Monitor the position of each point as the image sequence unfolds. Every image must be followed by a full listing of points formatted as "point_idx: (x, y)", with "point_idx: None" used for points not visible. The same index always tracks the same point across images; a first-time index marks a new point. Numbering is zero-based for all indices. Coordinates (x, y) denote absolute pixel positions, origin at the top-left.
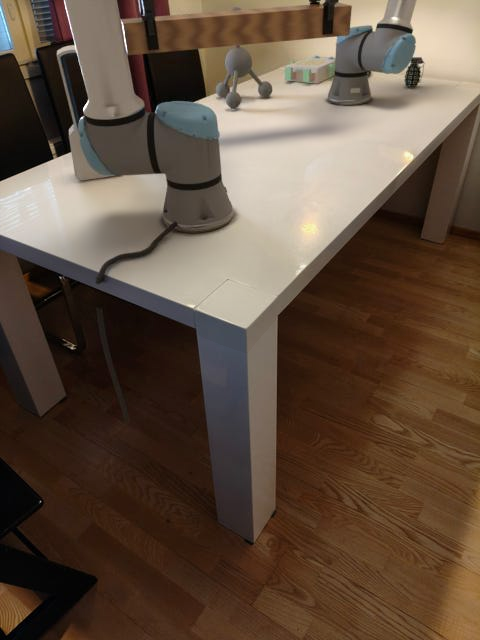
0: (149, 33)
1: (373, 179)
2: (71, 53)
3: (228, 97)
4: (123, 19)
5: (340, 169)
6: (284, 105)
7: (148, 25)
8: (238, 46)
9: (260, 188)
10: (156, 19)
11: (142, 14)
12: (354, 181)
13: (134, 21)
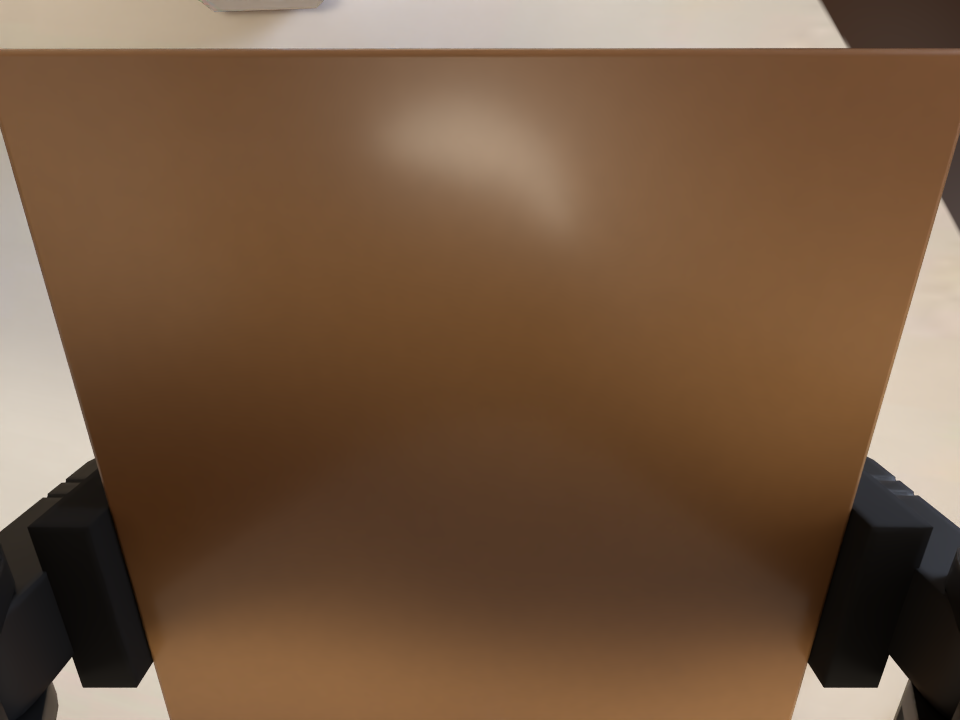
0: (95, 464)
1: (66, 709)
2: None
3: None
4: (870, 117)
5: (146, 673)
6: (807, 715)
7: (14, 528)
8: None
9: (30, 468)
10: (358, 696)
11: (949, 576)
12: (58, 674)
13: (273, 347)
